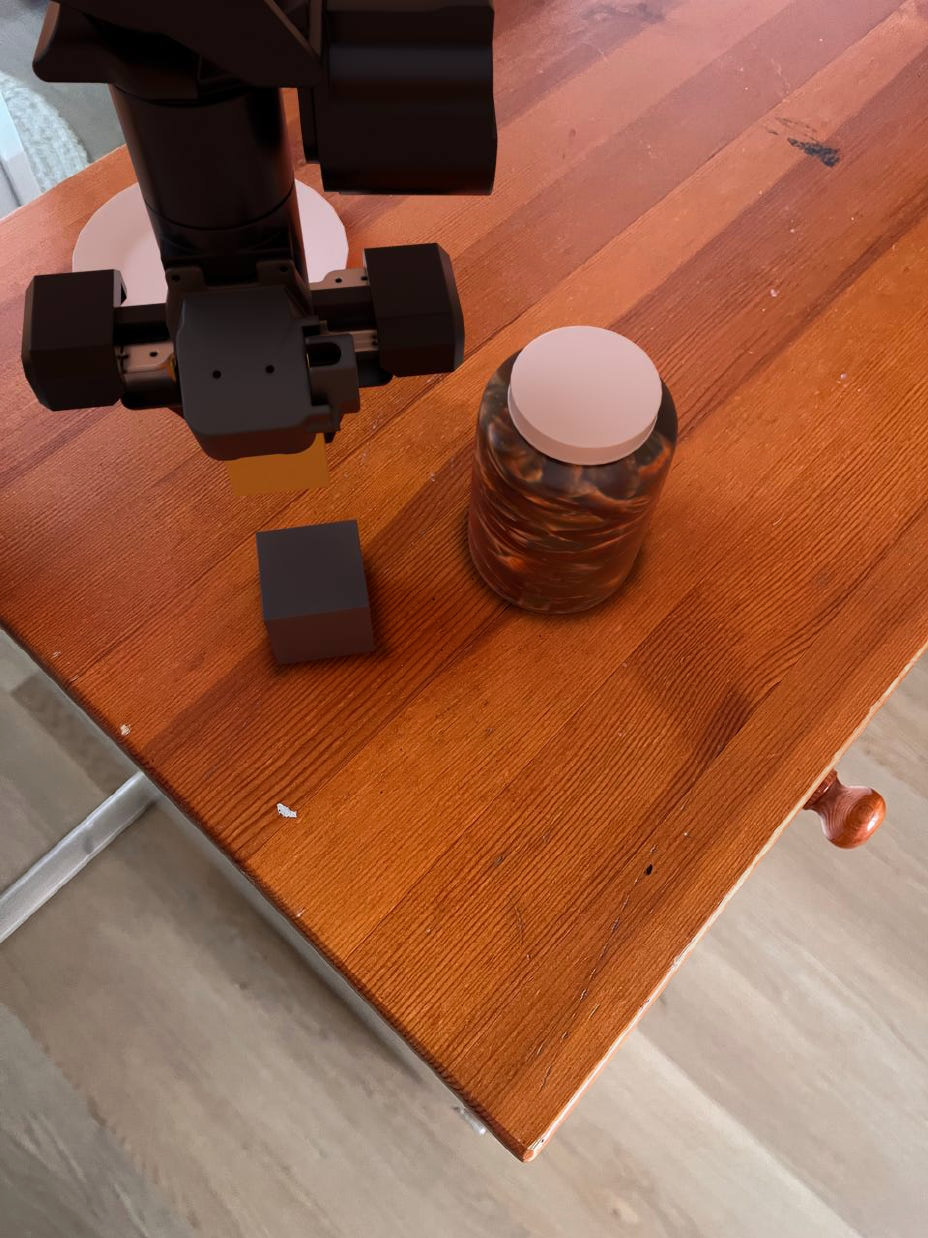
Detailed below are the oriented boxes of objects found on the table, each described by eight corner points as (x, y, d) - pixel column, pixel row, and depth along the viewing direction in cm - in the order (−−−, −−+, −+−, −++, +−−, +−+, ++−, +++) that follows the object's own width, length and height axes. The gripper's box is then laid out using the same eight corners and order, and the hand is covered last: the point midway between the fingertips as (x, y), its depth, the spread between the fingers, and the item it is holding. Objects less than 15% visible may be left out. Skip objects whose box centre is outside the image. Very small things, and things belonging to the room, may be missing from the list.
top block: (235, 497, 47) (216, 436, 43) (230, 423, 49) (212, 357, 45) (331, 486, 48) (321, 425, 43) (322, 413, 50) (312, 348, 46)
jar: (673, 563, 60) (742, 415, 47) (529, 644, 57) (560, 510, 44) (571, 442, 65) (609, 275, 51) (432, 511, 61) (434, 352, 48)
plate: (170, 420, 64) (162, 398, 62) (34, 254, 71) (22, 230, 69) (403, 294, 71) (402, 271, 69) (257, 154, 78) (252, 130, 76)
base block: (278, 665, 56) (263, 620, 50) (270, 582, 58) (255, 531, 53) (375, 651, 56) (369, 605, 51) (362, 570, 59) (356, 518, 54)
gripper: (-64, 362, 29) (92, 596, 43) (500, 311, 31) (476, 549, 45) (-35, 143, 34) (96, 415, 48) (449, 111, 36) (441, 381, 50)
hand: (276, 442), depth 48 cm, fingers closed on top block, 5 cm apart
